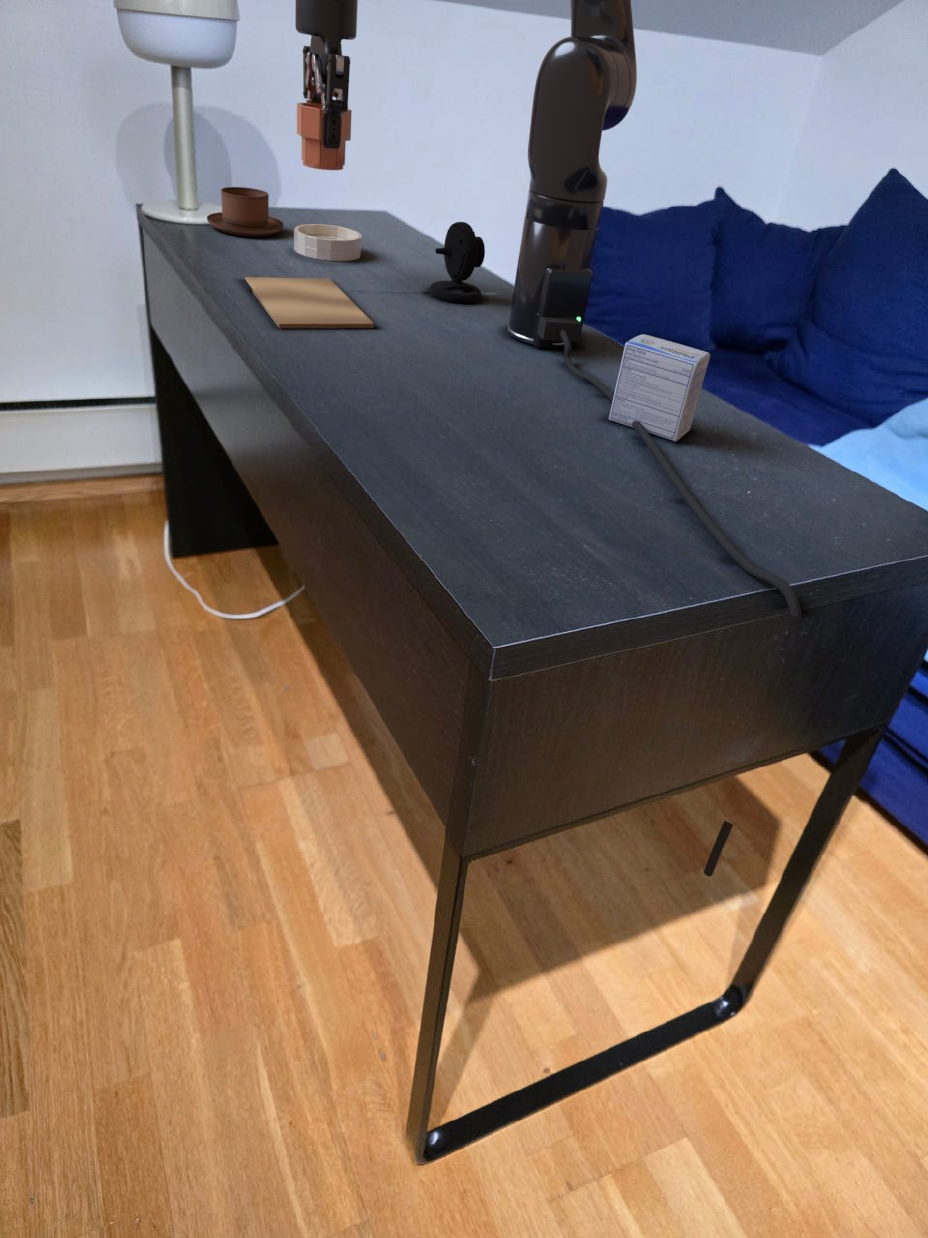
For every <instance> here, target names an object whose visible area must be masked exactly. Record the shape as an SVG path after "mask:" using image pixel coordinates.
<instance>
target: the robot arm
mask: <svg viewBox="0 0 928 1238" xmlns="http://www.w3.org/2000/svg"><path fill="white" fill-rule="evenodd" d="M358 3H359V0H295V26H294V27H295V30H296V32H297V33H299V34H302V35H307V36H310V44H309V45H303V48H302V62H303V63H302V72H303V73H302V76H303V77H302V78H303V79H302V81H303V84H302V85H303V86H302V87H303V88H302V89H303V91H302V94H303V99H305V101H306V102H305V103H318V104H322V111H323V122H322V145H323V146H324V147H325V148H331V149H338V148H339V147H340V132H341V116H343V113H344V112H347V109H349V90H350V89H349V88H350V73H351V72H350V70H351V58H350V57H351V56H349V55H343V50H342V40H347V41H351V40H352V41H354V40H355V39H356V38H357V33H358V32H357V30H358V29H357V28H358ZM569 7H570V8H569V9H570V36H567V37H564V38H562V39H560V40H558V41H557V42H556V43H554V44H553V45H552V46H551V47H550V48H549V50H548V51H547V52H546V53H545V55H544V57H543V59H542V61H541V63H540V65H539V69H538V72H537V75H536V80H535V85H534V89H533V97H532V98H533V99H532V104H531V105H532V106H531V115H530V125H529V133H528V143H527V163H528V164H527V165H528V169H529V176H530V177H529V186H528V193H527V200H526V207H525V213H524V219H523V225H522V233H521V239H520V244H519V245H520V246H519V252H518V259H517V266H516V273H515V278H514V284H513V285H514V286H513V293H512V299H511V306H510V313H509V320H508V324H507V328H506V332H507V334H508V335H509V336H510V337H512V338H514V339H516V340H517V341H520V342H523V343H526V344H529V345H533V346H534V347H535V348H539V349H544V348H545V349H548V348H549V349H550V348H554V349H555V348H558V349H559V348H564V353H563V360H564V364H565V366H566V368H567V369H568V370H570V372H572V373H573V374H575V375H576V376H577V377H578V378H580V379H582V380H584V381H586V382H587V383H589V384H591V385H593V386H594V387H595V388H596V389H598V391H600V392H601V394H603V395H604V396H605V397H606V398H607V399H608V400H609V401H610V402H611V403H612V402H613V398H614V393H615V392H613V391H612V390H611V389H610V388H609V387H608V386H607V385H605V384H604V383H603V382H602V381H601V380H600V379H599V378H597V377H595V375H591V374H590V373H587V372H585V371H582V370H580V369H579V368H577V367H576V365H574V363H573V361H572V357H571V356H572V348H579V347H580V341H581V336H582V333H583V332H582V331H583V326H584V322H585V315H586V312H587V306H588V301H589V295H590V291H591V287H592V286H591V285H592V280H593V275H594V273H593V271H592V264H593V259H594V254H595V248H596V244H597V238H598V233H599V227H600V225H601V224H600V223H601V219H602V213H603V208H604V203H605V198H606V195H607V194H606V192H607V187H608V176H607V173H606V172H605V171H604V170H603V168H602V166H601V163H600V151H601V142H602V135H603V131H609V130H611V129H613V128H615V127H616V126H618V125H619V124H620V123H621V122H622V121H623V120H624V119H625V118H626V116H627V115H628V113H629V111H630V110H631V108H632V106H633V103H634V100H635V96H636V91H637V82H638V69H637V67H638V66H637V55H636V46H635V45H636V42H635V31H634V20H633V9H632V0H569ZM333 98H334V99H333ZM324 114H326V115H324ZM632 426H633V427H634V428H633V429H634V430H635V431H636V433H637V434H638V435H639V437H640V438H641V440H643V442H644V443H645V445H646V446H647V447H648V450H650V452H651V453H652V455H653V456H654V458H655V460H656V461H657V462H658V464H659V466H660V467H661V468H662V470H663V471H664V474H665V475H666V476H667V477H668V479H669V480H670V482H671V483H672V484H673V486H674V487H675V489H676V490H677V492H678V493H679V494H680V496H681V498H682V499H683V500H684V502H685V503H686V504H687V506H688V507H689V508H690V510H691V511H692V512H693V514H694V515H695V517H696V518H697V519H698V520H699V521H700V523H701V524H702V525H703V526H704V528H705V529H706V530H707V531H708V532H709V534H710V535H711V536H712V537H713V539H714V540H715V541H716V542H717V544H718V545H719V546H720V547H721V549H723V550H724V552H725V553H726V554H727V555H728V556H729V557H730V558H731V559H732V560H733V561H734V562H735V563H736V564H737V565H738V566H739V567H740V568H741V569H742V570H743V571H745V572H746V573H747V574H749V575H750V576H751V577H754V578H756V579H758V580H760V581H761V582H764V583H765V584H766V583H767V584H769V585H770V586H772V587H773V588H775V589H776V590H777V591H779V592H780V593H781V595H782V596H783V597H784V598H785V601H786V603H787V607H788V609H789V610H788V611H789V614H790V615H791V616H793V617H795V618H798V619H801V618H802V617H803V613H802V608H801V605H800V602H799V598H798V596H797V594H796V592H795V591H794V589H793V588H792V586H791V585H790V584H789V583H788V582H787V581H786V580H785V579H783V578H781V577H780V576H779V575H776V574H774V573H773V572H770V571H768V570H765V569H763V568H762V567H759V566H758V565H756V564H755V563H753V562H752V561H751V560H750V559H749V558H748V557H746V555H744V554H743V553H742V552H741V551H740V550H739V549H738V548H737V547H736V546H735V545H734V543H732V541H731V540H730V539H729V538H728V537H727V536H726V535H725V533H724V532H723V531H722V530H721V529H720V528H719V527H718V525H717V524H716V523H715V522H714V521H713V519H712V518H711V516H709V515H708V513H707V512H706V511H705V509H704V508H703V507H702V506H701V505H700V504H699V502H698V501H697V500H696V498H695V497H694V496H693V494H692V493H691V492H690V490H689V488H688V487H687V486H686V485H685V483H684V482H683V481H682V479H681V477H680V476H679V475H678V474H677V472H676V471H675V469H674V467H673V466H672V465H671V463H670V462H669V461H668V459H667V458H666V456H665V455H664V453H663V452H662V450H661V449H660V447H659V446H658V445H657V443H656V441H654V439H653V437H652V436H651V435H650V433H648V432H647V431H646V430H645V428H644V427H643V426H642V424H641V423H640V422H638V421H633V422H632ZM733 827H734V824H733V823H731V822H728V821H727V820H724V821H723V823H722V825H721V827H720V830H719V831H718V834H717V837H716V839H715V841H714V844H713V846H712V849H711V851H710V854H709V856H708V858H707V862H706V864H705V866H704V869H703V874H704V876H706V877H712V876H713V875H714V872H715V870H716V867H717V864H718V862H719V859H720V857H721V854H722V852H723V850H724V848H725V846H726V842H727V841H728V838H729V836H730V834H731V831H732V829H733Z"/></svg>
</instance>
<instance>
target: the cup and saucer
mask: <svg viewBox="0 0 928 1238" xmlns="http://www.w3.org/2000/svg"><path fill="white" fill-rule="evenodd" d="M220 197H221V211H220V212H213V213H210V214H208V215H207V216H206V220H207V222H208V224H209V225H210V226H211V227H212V228H213V229H215V230H216V231H220V232H222V233H225V234H230V235H233V236H238V237H250V238H260V237H268V236H273V235H275V234H278V233H279V232H280V231H281V230H282V229H284V222H283V221H282V220H281V219H278V218H276V217H273V216H270V215H269V205H270V204H269V203H270V202H269V201H270V200H269V199H270V198H269V197H270V195H269V193H268V192H267V191H266V190H265V191H264V190H263V189H258V188H252V187H245V186H227V187H223V188H221V189H220Z"/></svg>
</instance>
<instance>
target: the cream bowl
mask: <svg viewBox="0 0 928 1238" xmlns="http://www.w3.org/2000/svg"><path fill="white" fill-rule="evenodd" d="M362 241H363V235H362V234H361V232H359V231H357V230H354V229H351V228H349V227H344V226H339V225H333V224H321V223H319V224H318V223H310V224H308V223H307V224H299V225H297V226H295V228H293V251H294V252H295V253H296V254H298V255H301V256H303V257H306V258H311V259H314V260H318V261H319V260H321V261H327V262H349V261H355V260H358V259H360V258H361V256H362Z"/></svg>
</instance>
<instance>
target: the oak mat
mask: <svg viewBox="0 0 928 1238" xmlns="http://www.w3.org/2000/svg"><path fill="white" fill-rule="evenodd" d="M244 279H245V281H246V282H247V284H248V285H249V286H250V291H251V292H252V294H253V295H254V296H255V297H256V299H257V301H259V304H260V305H261V306H262V307H263V309H264V310H265V311H266V313H267V314H268V316H270V318H271V319H272V320H273V322H274V324H275V325H276V326H277V327H278V329H281V330H282V329H374V328H375V323H374V322H373V321H372V320H371V318H369V317H368V316H367V315H366V314H365V312H363V311H362V309H361V308H359V306H357V305H356V304H355V302H353V301H352V300H351V298H350V297H349V296H347V295H346V293H345V292H344V291H342V290H341V289H340V287H339V286H337V284H336V283H334V281H332V279H331V278H323V277H322V278H320V277H319V278H317V277H316V278H314V277H262V276H261V277H259V276H257V277H256V276H254V277H253V276H245V277H244Z"/></svg>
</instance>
